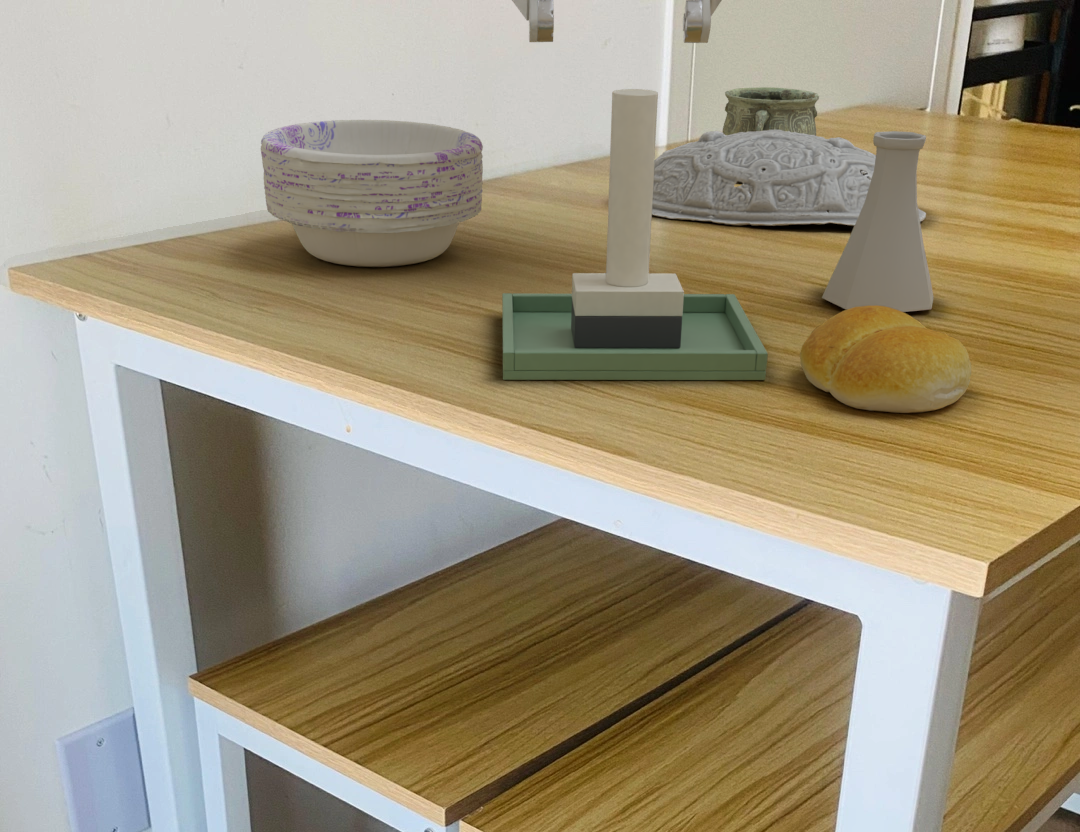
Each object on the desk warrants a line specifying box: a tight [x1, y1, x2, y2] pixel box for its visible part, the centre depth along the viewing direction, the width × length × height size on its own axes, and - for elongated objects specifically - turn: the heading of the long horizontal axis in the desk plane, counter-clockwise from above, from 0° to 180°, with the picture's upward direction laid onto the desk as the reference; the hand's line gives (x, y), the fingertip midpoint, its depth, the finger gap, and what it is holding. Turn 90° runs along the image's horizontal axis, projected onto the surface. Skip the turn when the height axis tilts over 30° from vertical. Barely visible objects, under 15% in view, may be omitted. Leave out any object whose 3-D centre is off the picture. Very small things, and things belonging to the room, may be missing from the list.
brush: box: [571, 88, 685, 348], centre depth 75 cm, size 6×4×13 cm, turn 92°
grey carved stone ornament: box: [652, 130, 927, 227], centre depth 111 cm, size 16×25×7 cm, turn 73°
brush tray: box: [501, 292, 769, 381], centre depth 79 cm, size 14×12×2 cm
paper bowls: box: [260, 119, 484, 268], centre depth 96 cm, size 15×15×8 cm
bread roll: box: [799, 305, 972, 414], centre depth 72 cm, size 8×9×4 cm
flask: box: [821, 130, 934, 313], centre depth 85 cm, size 7×7×10 cm
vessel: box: [722, 86, 820, 136], centre depth 128 cm, size 12×9×6 cm
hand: (619, 35), depth 83 cm, fingers open, 8 cm apart
